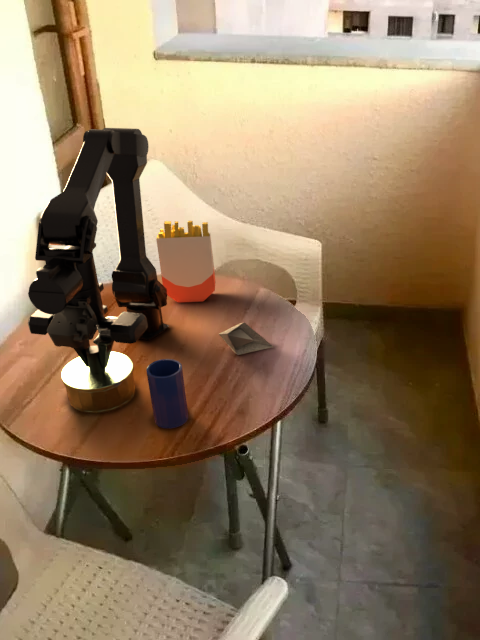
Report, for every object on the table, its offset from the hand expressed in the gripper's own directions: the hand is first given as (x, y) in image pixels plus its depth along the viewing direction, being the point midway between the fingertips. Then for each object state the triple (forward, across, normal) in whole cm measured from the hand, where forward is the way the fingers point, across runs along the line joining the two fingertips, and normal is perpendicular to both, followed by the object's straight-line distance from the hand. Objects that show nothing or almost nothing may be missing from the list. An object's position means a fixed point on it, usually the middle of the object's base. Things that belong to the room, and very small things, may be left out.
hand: (96, 366), depth 124 cm
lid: (+1, 0, 0) cm, 1 cm away
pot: (+6, 0, 0) cm, 6 cm away
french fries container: (+6, +2, +38) cm, 39 cm away
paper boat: (+6, +20, +18) cm, 28 cm away
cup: (+6, +14, -4) cm, 16 cm away
